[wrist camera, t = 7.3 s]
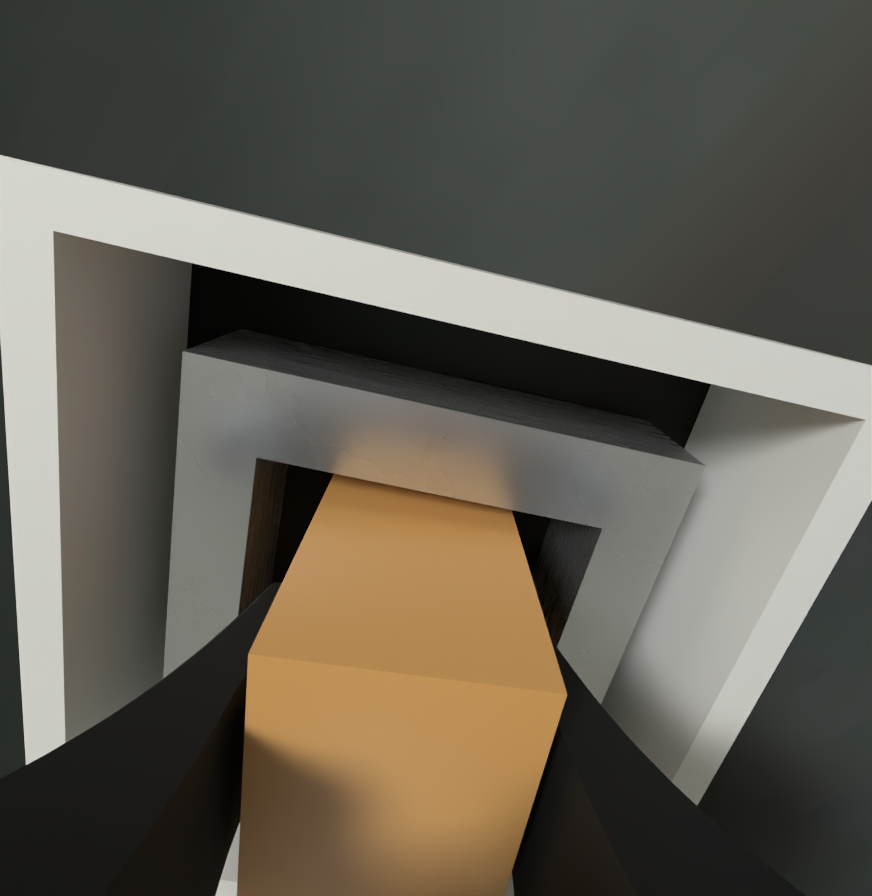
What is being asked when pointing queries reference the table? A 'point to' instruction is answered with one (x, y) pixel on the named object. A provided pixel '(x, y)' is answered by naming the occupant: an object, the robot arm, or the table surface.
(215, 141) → the table surface
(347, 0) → the table surface
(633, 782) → the robot arm
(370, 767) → the light brown rectangular block
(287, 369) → the inlet socket
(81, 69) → the table surface
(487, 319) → the walled box
